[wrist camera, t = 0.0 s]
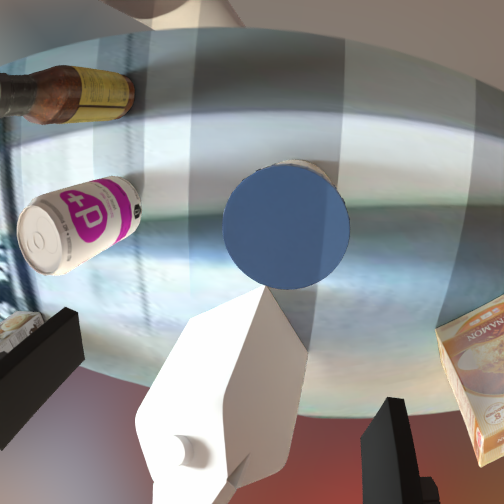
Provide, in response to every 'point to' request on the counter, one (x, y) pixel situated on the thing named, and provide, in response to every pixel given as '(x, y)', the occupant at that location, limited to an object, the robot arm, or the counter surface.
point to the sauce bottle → (66, 95)
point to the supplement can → (77, 223)
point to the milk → (223, 402)
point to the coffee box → (18, 328)
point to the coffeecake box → (478, 374)
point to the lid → (286, 226)
